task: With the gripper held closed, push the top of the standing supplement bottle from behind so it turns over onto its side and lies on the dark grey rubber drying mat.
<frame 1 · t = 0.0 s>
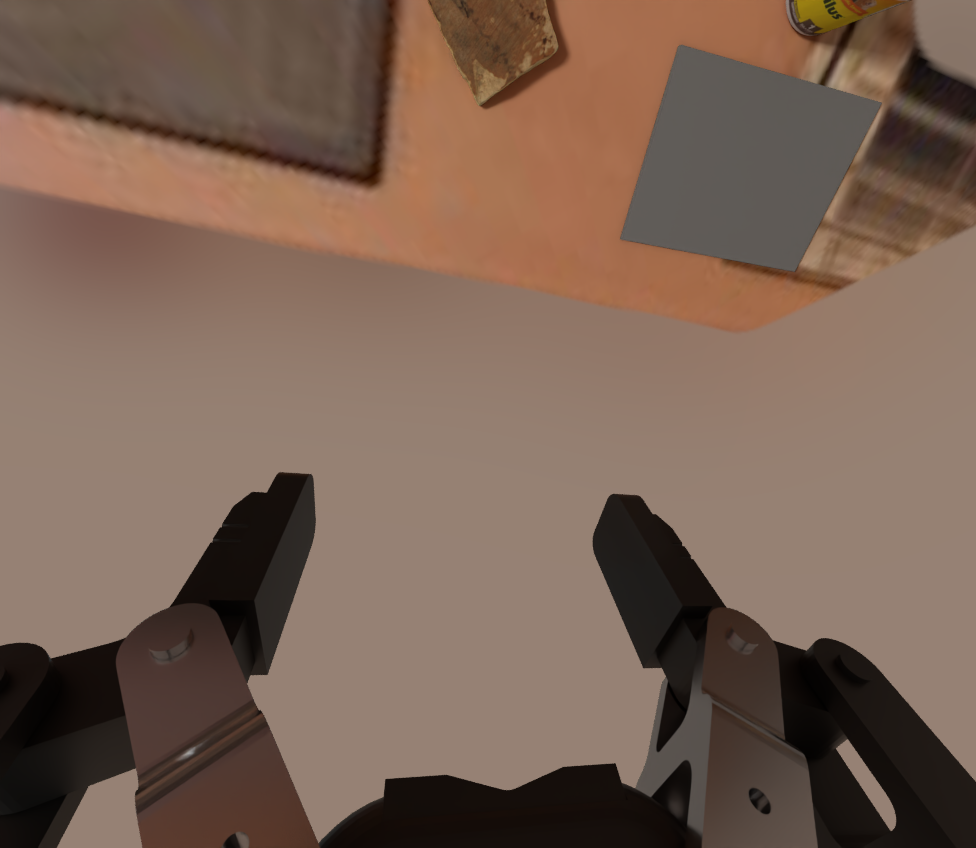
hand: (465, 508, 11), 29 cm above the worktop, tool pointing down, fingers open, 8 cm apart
shard: (470, 31, 28), on the worktop
drying mat: (742, 174, 34), on the worktop
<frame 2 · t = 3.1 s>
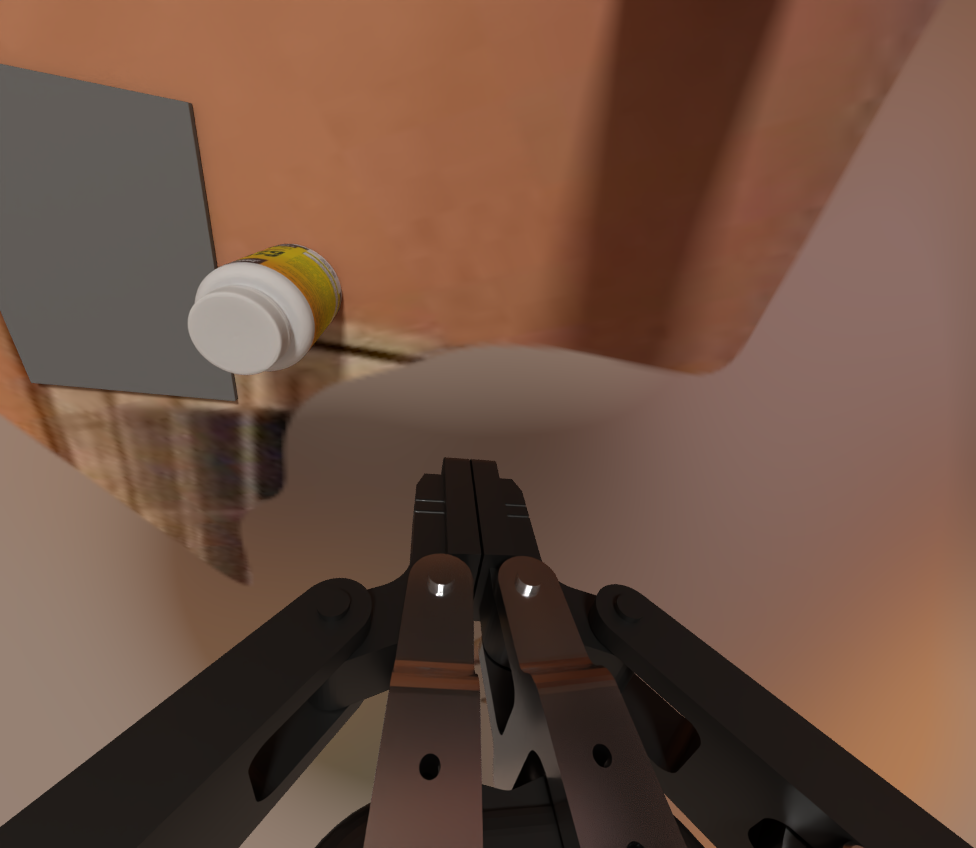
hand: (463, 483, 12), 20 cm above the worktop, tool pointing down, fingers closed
supplement bottle: (301, 286, 27), on the worktop
drying mat: (103, 259, 25), on the worktop
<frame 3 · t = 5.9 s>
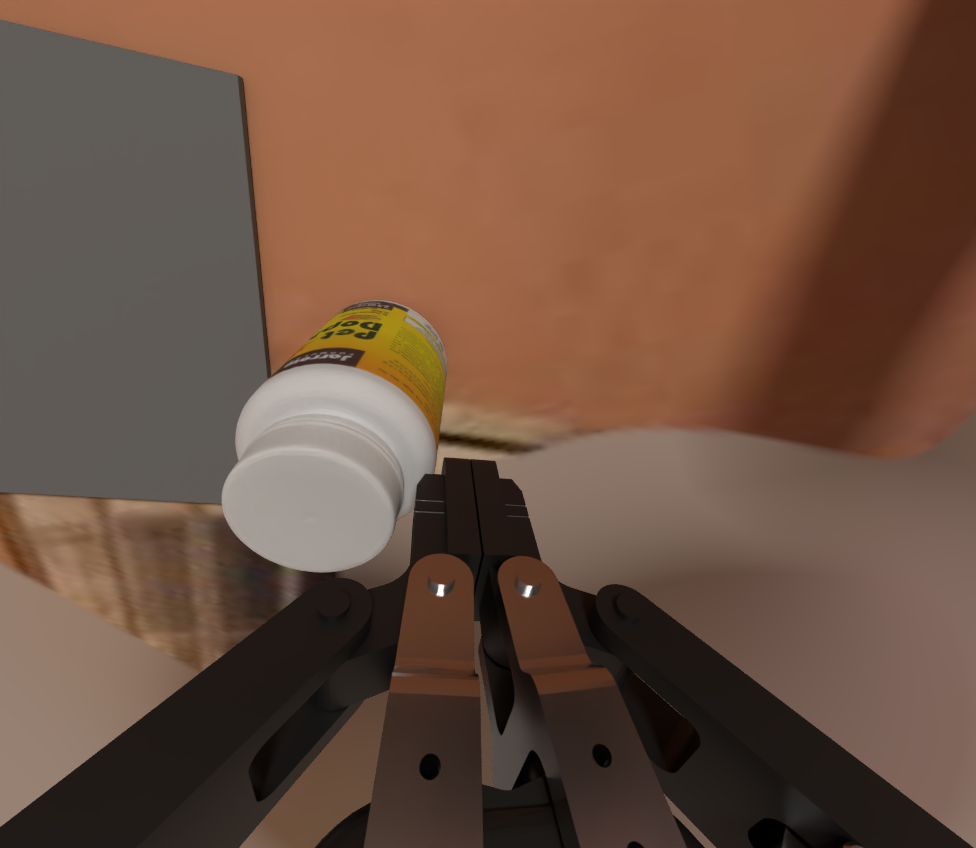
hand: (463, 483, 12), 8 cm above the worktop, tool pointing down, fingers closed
supplement bottle: (386, 357, 18), on the worktop, touching gripper
drying mat: (93, 321, 16), on the worktop
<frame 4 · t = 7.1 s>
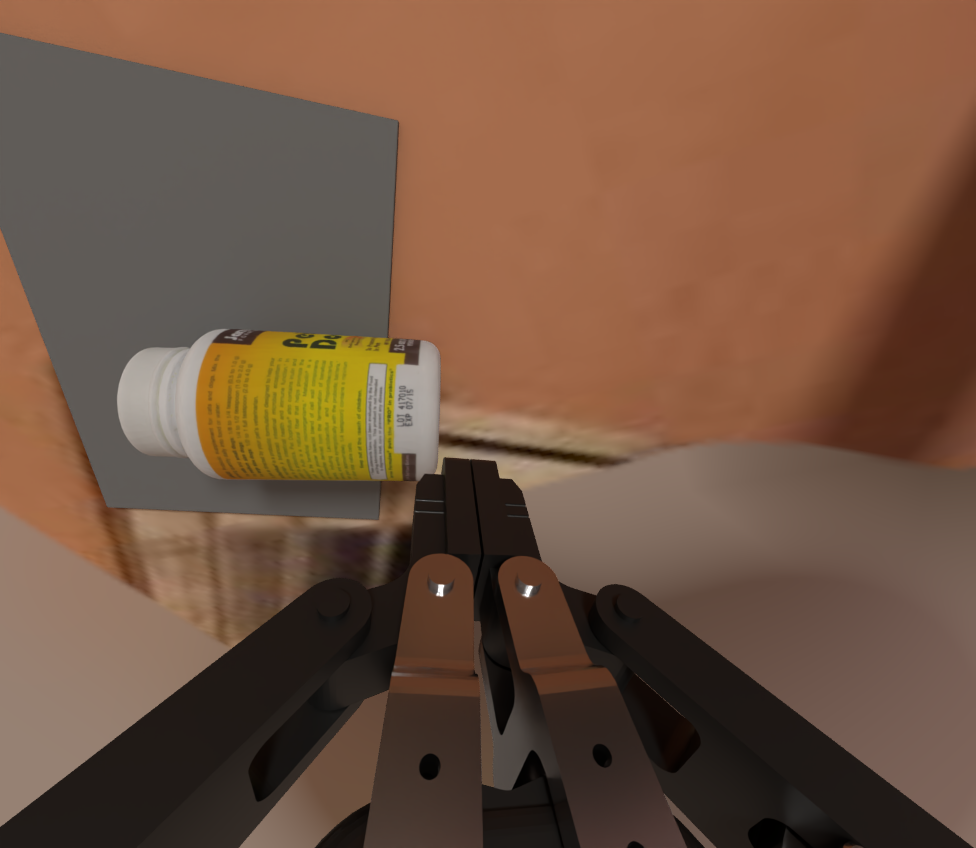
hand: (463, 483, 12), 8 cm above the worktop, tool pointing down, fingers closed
supplement bottle: (444, 411, 16), point 3 cm above the worktop, touching drying mat
drying mat: (229, 347, 17), on the worktop
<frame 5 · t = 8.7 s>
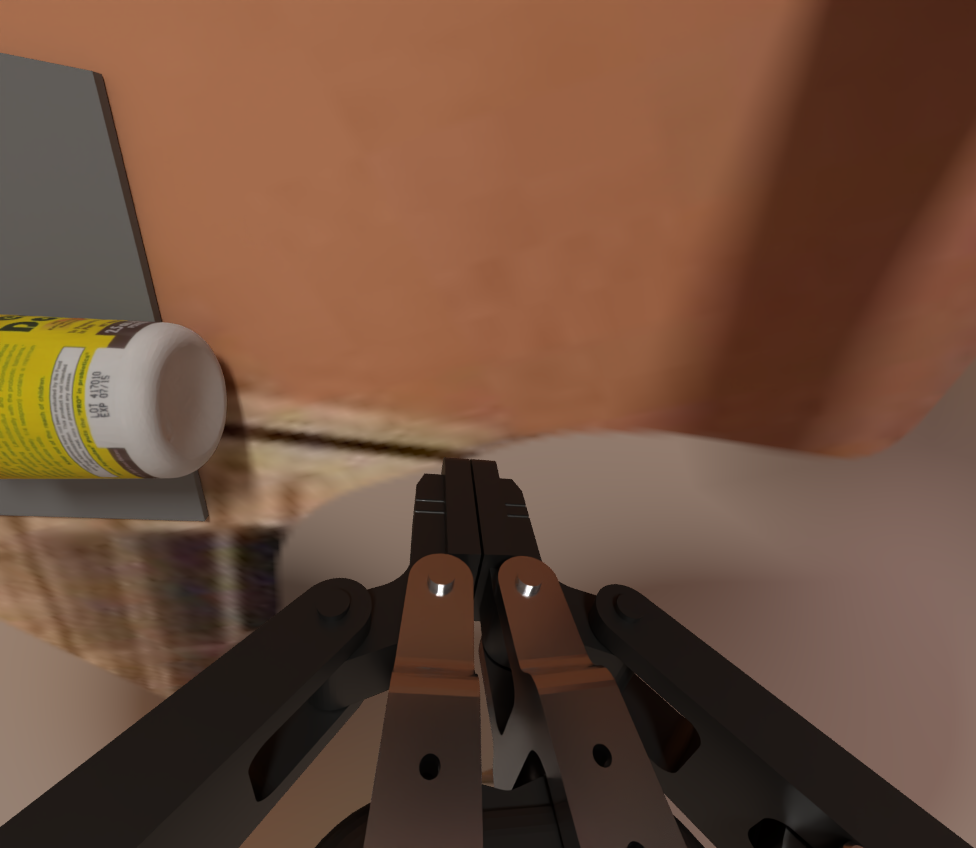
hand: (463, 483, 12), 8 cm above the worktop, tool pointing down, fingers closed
supplement bottle: (203, 401, 15), point 3 cm above the worktop, touching drying mat
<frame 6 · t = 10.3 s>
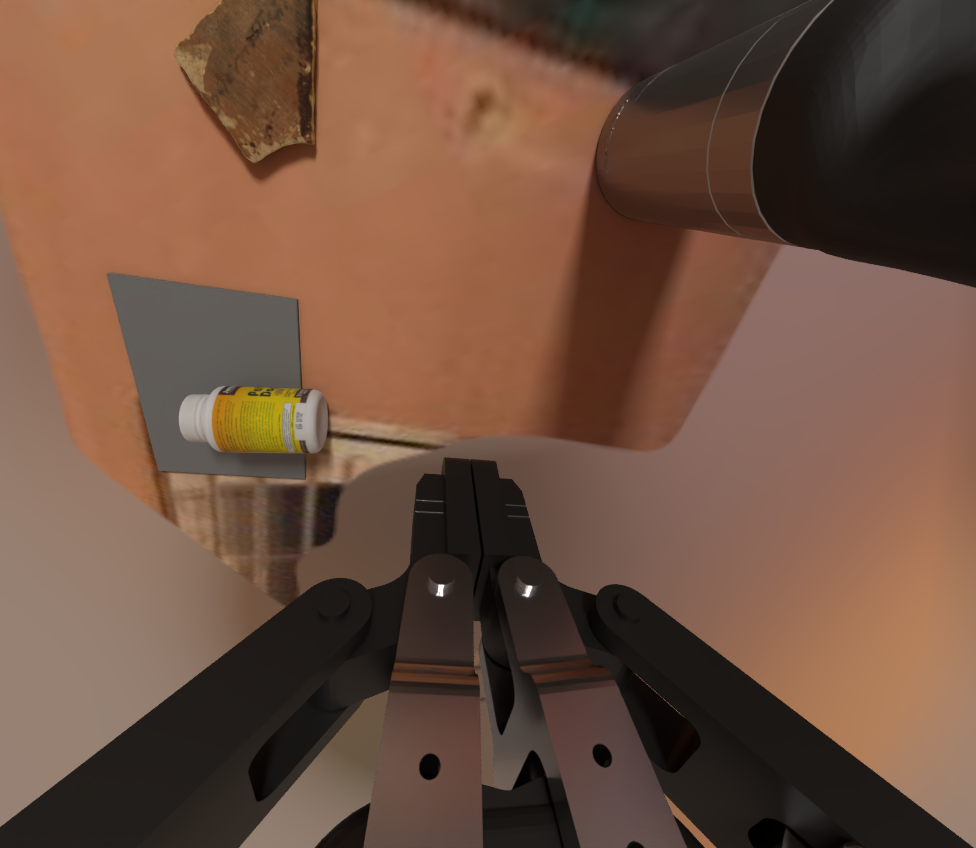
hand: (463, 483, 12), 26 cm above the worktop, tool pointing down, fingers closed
supplement bottle: (325, 421, 35), point 3 cm above the worktop, touching drying mat
shard: (254, 53, 26), on the worktop
drying mat: (223, 390, 36), on the worktop
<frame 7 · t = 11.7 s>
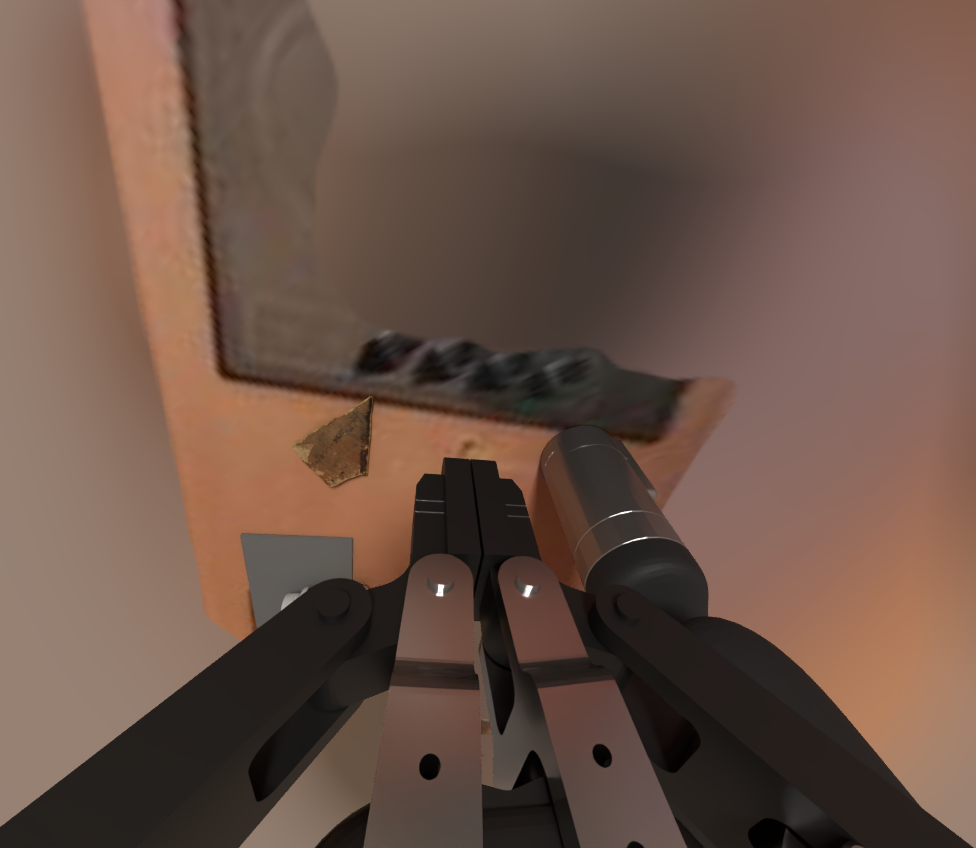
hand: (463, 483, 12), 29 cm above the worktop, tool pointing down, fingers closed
shard: (334, 433, 44), on the worktop
drying mat: (302, 583, 55), on the worktop
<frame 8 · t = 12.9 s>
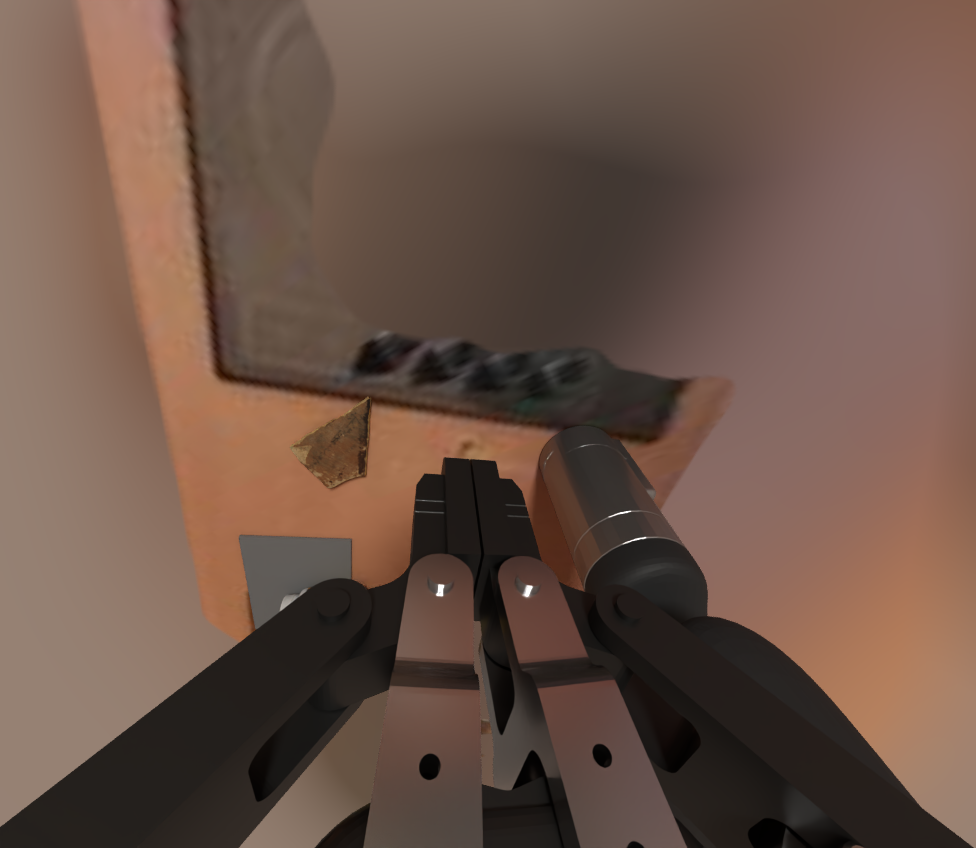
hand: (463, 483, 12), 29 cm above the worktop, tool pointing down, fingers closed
shard: (332, 434, 44), on the worktop
drying mat: (301, 585, 55), on the worktop
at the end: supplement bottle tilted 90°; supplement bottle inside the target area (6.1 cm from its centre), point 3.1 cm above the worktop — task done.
